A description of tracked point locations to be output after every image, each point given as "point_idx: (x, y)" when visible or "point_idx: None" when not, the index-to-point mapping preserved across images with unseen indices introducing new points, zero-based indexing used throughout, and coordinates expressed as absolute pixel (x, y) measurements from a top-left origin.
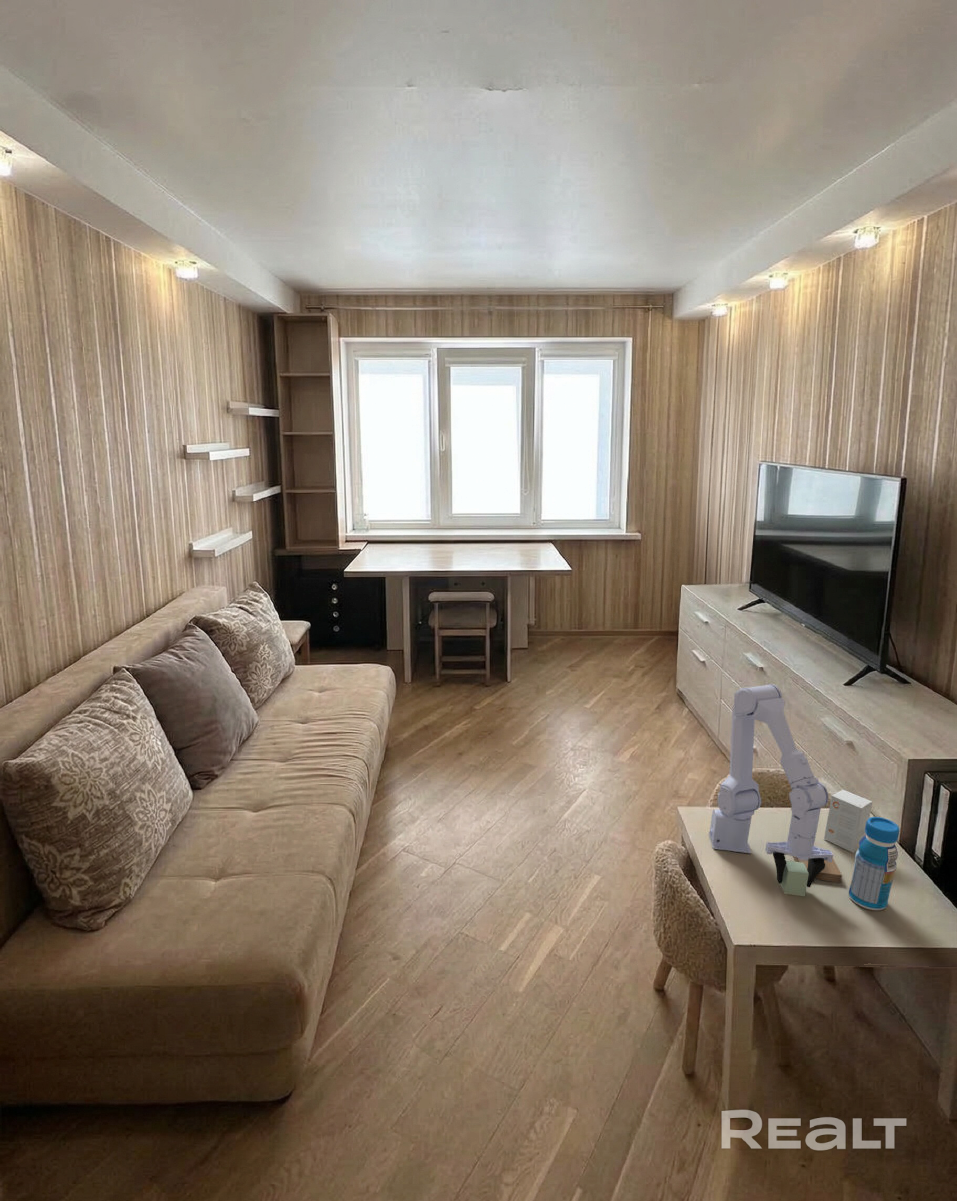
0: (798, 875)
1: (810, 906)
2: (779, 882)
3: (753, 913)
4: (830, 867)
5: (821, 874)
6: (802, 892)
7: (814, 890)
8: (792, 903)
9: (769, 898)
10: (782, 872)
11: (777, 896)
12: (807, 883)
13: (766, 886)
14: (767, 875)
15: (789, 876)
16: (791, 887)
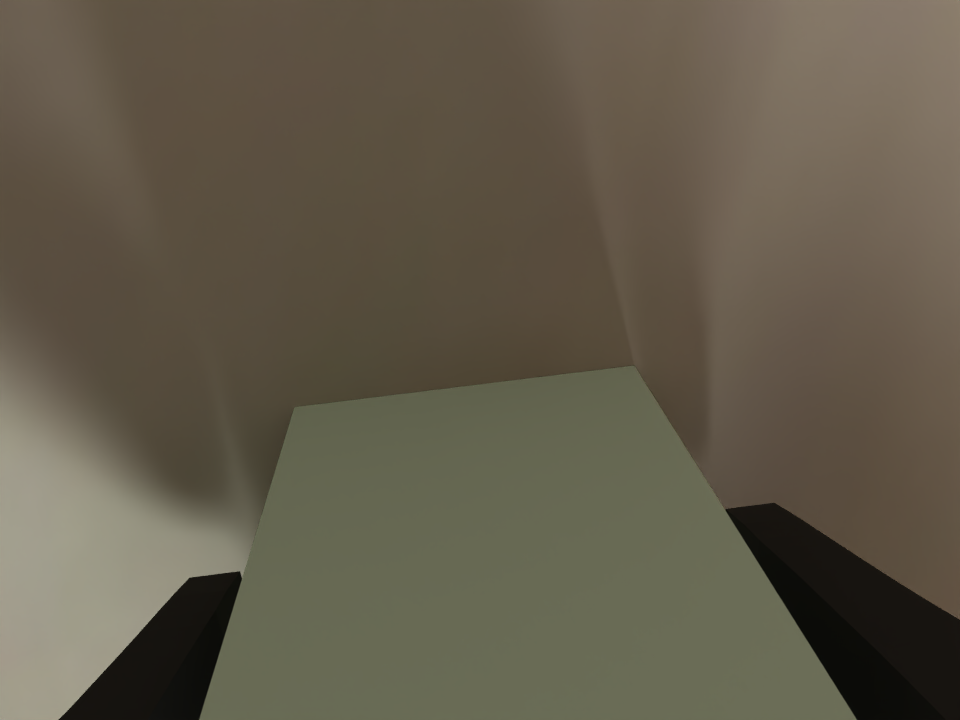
0: (495, 687)
1: (199, 113)
2: (778, 513)
3: None
4: None
5: None
6: (335, 432)
7: (126, 614)
8: (545, 93)
9: (956, 111)
10: (928, 674)
11: (784, 231)
12: None
13: (892, 455)
14: None
15: (726, 601)
16: (560, 446)
